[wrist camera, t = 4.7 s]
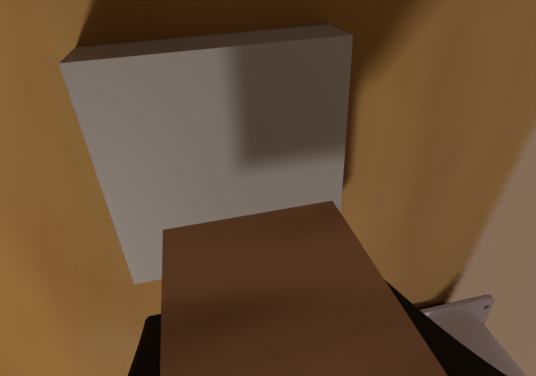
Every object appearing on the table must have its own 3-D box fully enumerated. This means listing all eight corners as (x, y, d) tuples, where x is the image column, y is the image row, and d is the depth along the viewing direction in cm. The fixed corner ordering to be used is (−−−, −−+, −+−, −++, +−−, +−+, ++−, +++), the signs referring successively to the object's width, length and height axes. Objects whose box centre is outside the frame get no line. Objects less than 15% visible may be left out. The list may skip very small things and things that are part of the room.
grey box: (318, 211, 21) (338, 245, 19) (138, 242, 20) (134, 284, 17) (324, 22, 16) (353, 34, 13) (78, 44, 14) (58, 63, 12)
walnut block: (326, 310, 14) (412, 507, 9) (191, 340, 13) (204, 574, 8) (332, 200, 11) (462, 397, 6) (162, 229, 10) (158, 482, 5)
